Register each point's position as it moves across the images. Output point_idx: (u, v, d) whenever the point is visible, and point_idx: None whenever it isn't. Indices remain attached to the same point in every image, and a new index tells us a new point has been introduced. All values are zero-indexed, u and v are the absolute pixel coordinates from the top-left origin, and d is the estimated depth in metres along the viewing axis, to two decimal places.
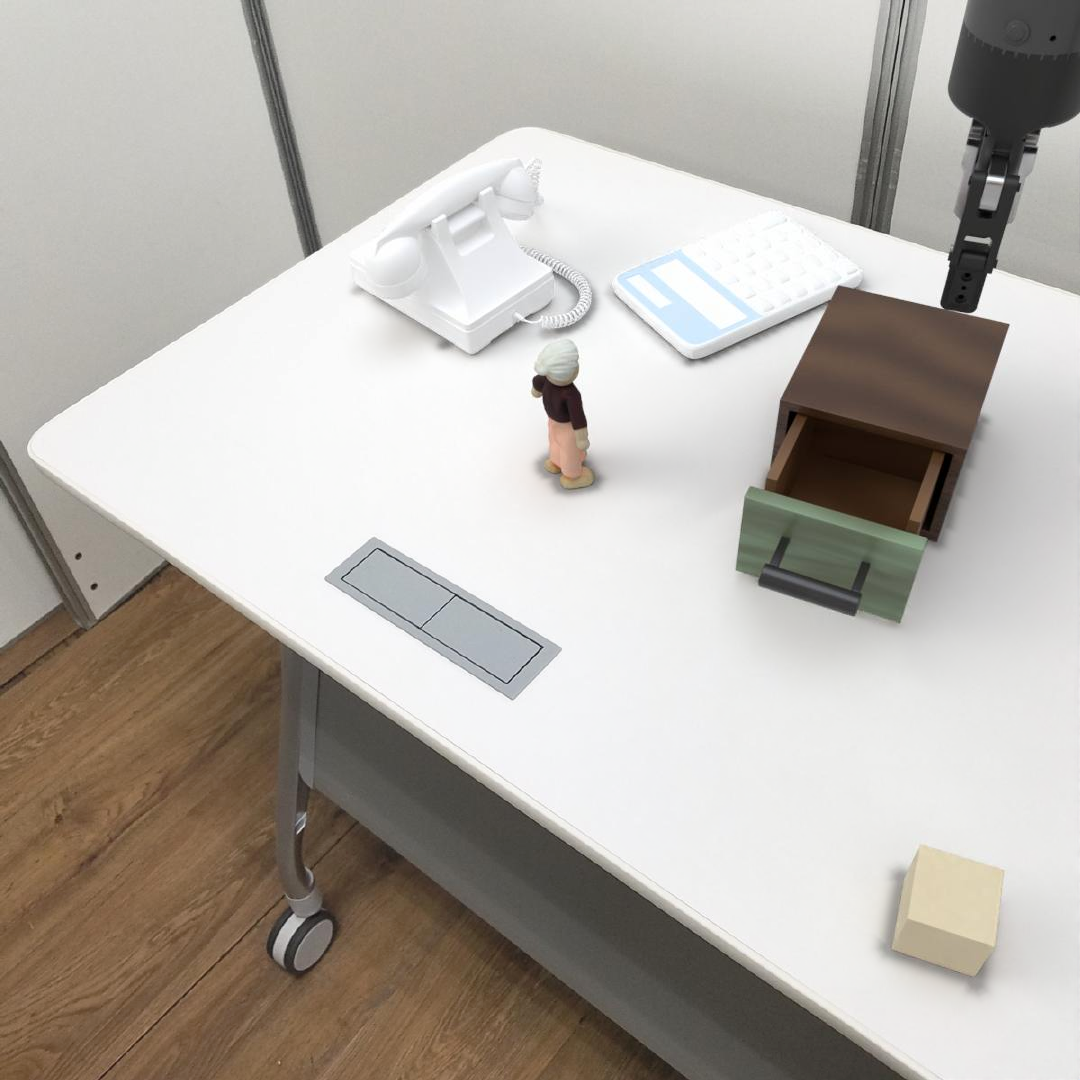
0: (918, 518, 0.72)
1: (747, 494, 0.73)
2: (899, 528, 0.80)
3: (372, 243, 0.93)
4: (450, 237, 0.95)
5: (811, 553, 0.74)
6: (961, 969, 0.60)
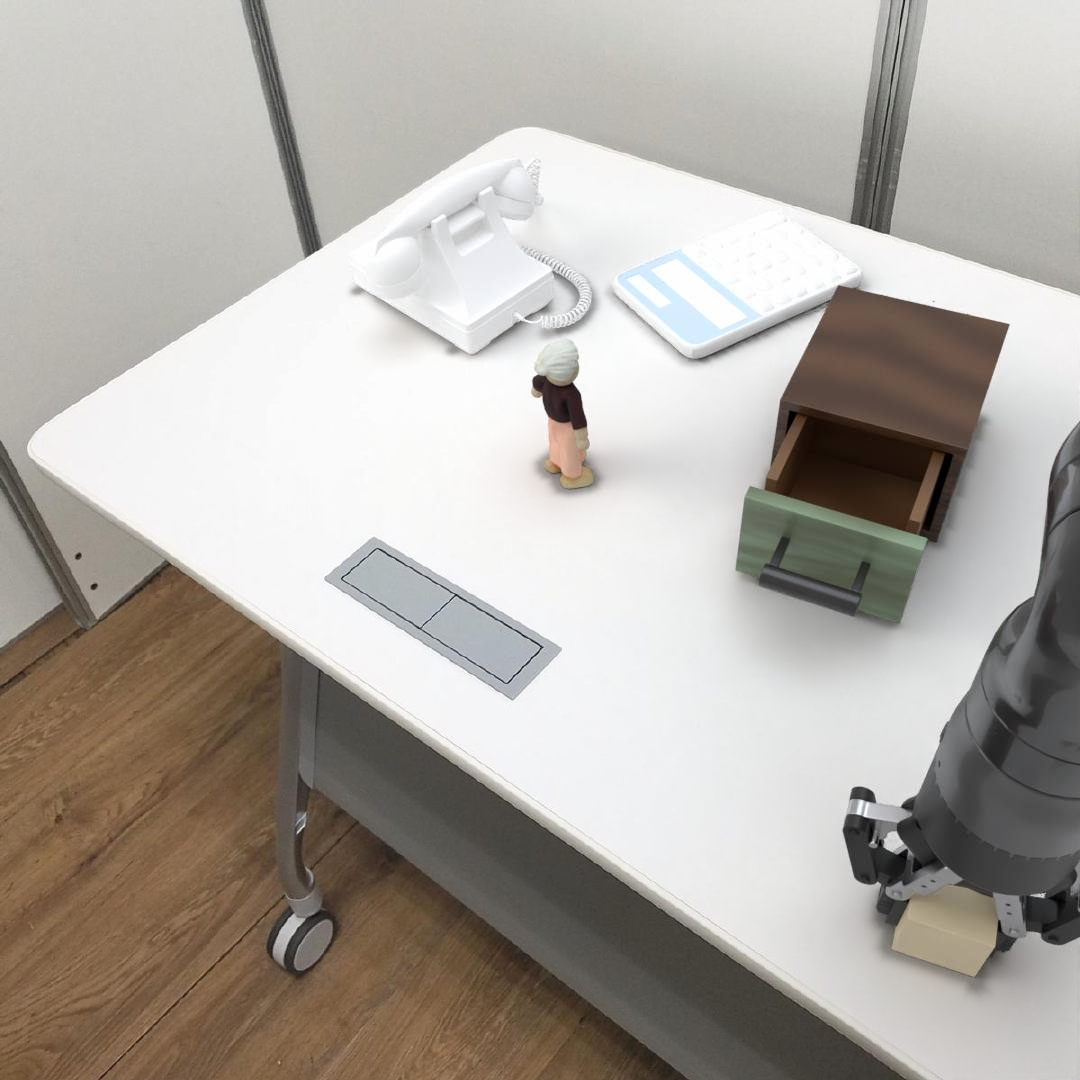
0: (918, 518, 0.72)
1: (747, 494, 0.73)
2: (899, 528, 0.80)
3: (372, 243, 0.93)
4: (450, 237, 0.95)
5: (811, 553, 0.74)
6: (961, 969, 0.60)
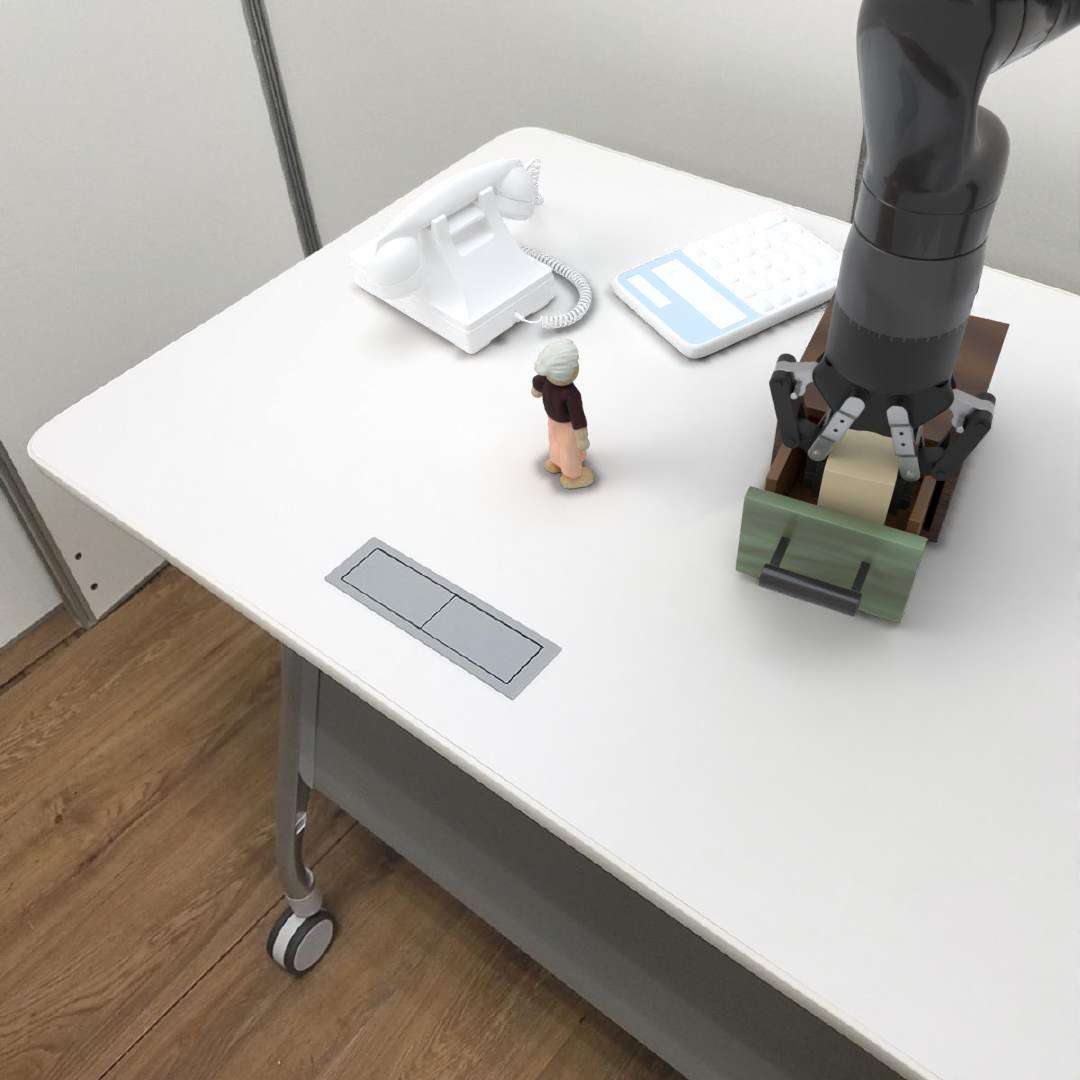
0: (918, 518, 0.72)
1: (747, 494, 0.73)
2: (899, 528, 0.80)
3: (372, 243, 0.93)
4: (450, 237, 0.95)
5: (811, 553, 0.74)
6: None
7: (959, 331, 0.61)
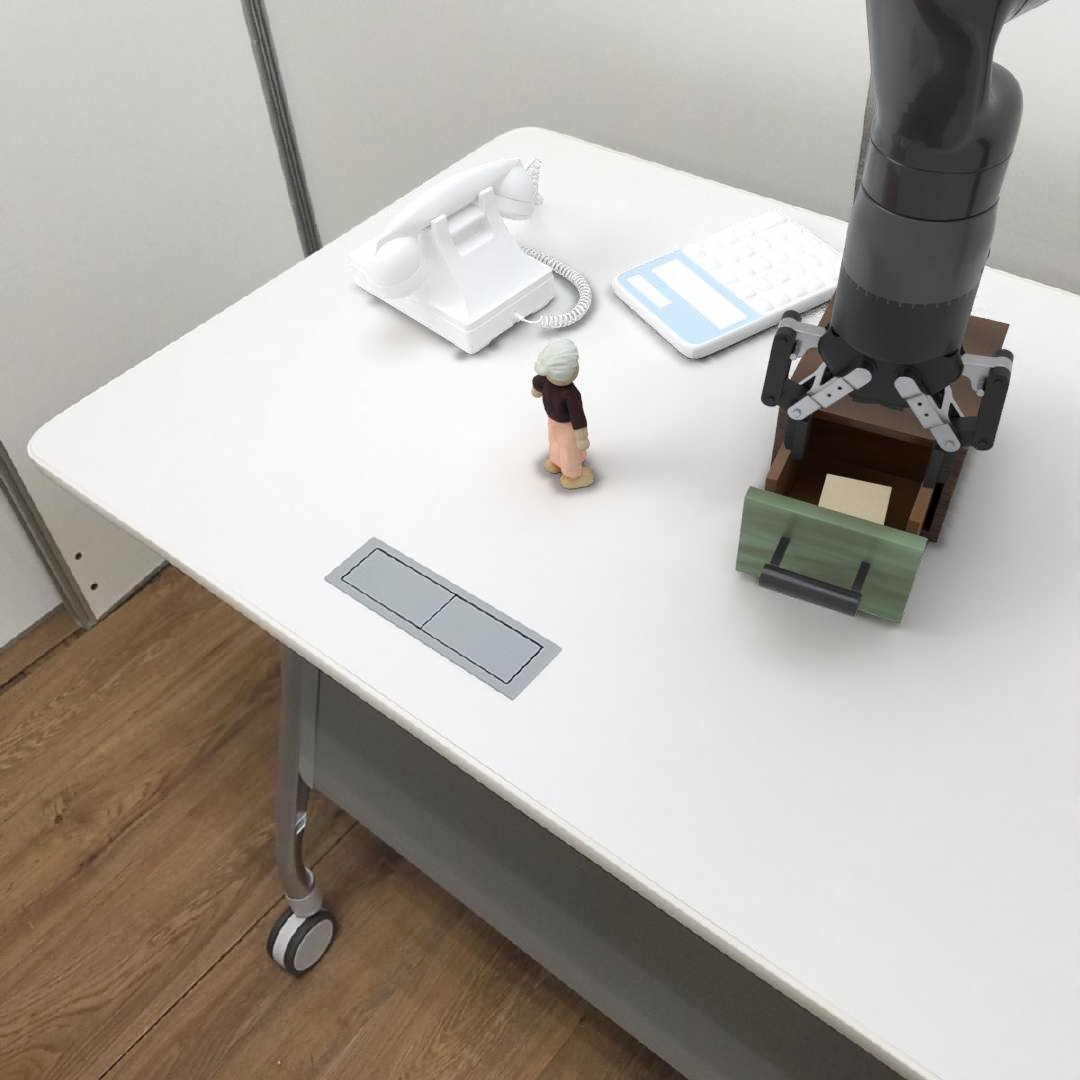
0: (918, 518, 0.72)
1: (747, 494, 0.73)
2: (899, 528, 0.80)
3: (372, 243, 0.93)
4: (450, 237, 0.95)
5: (811, 553, 0.74)
6: None
7: (969, 297, 0.59)
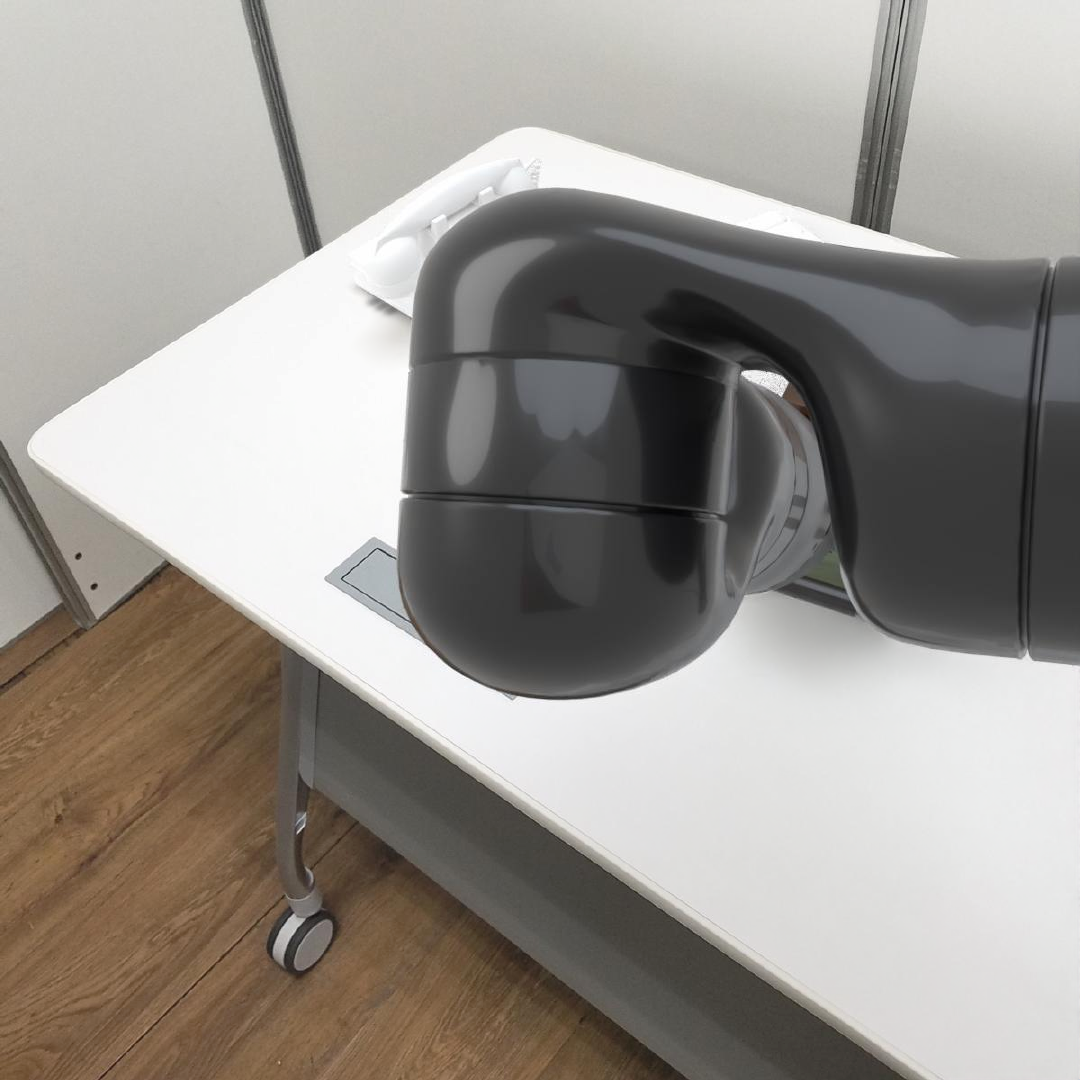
0: None
1: None
2: None
3: (372, 243, 0.93)
4: None
5: None
6: None
7: (806, 563, 0.39)
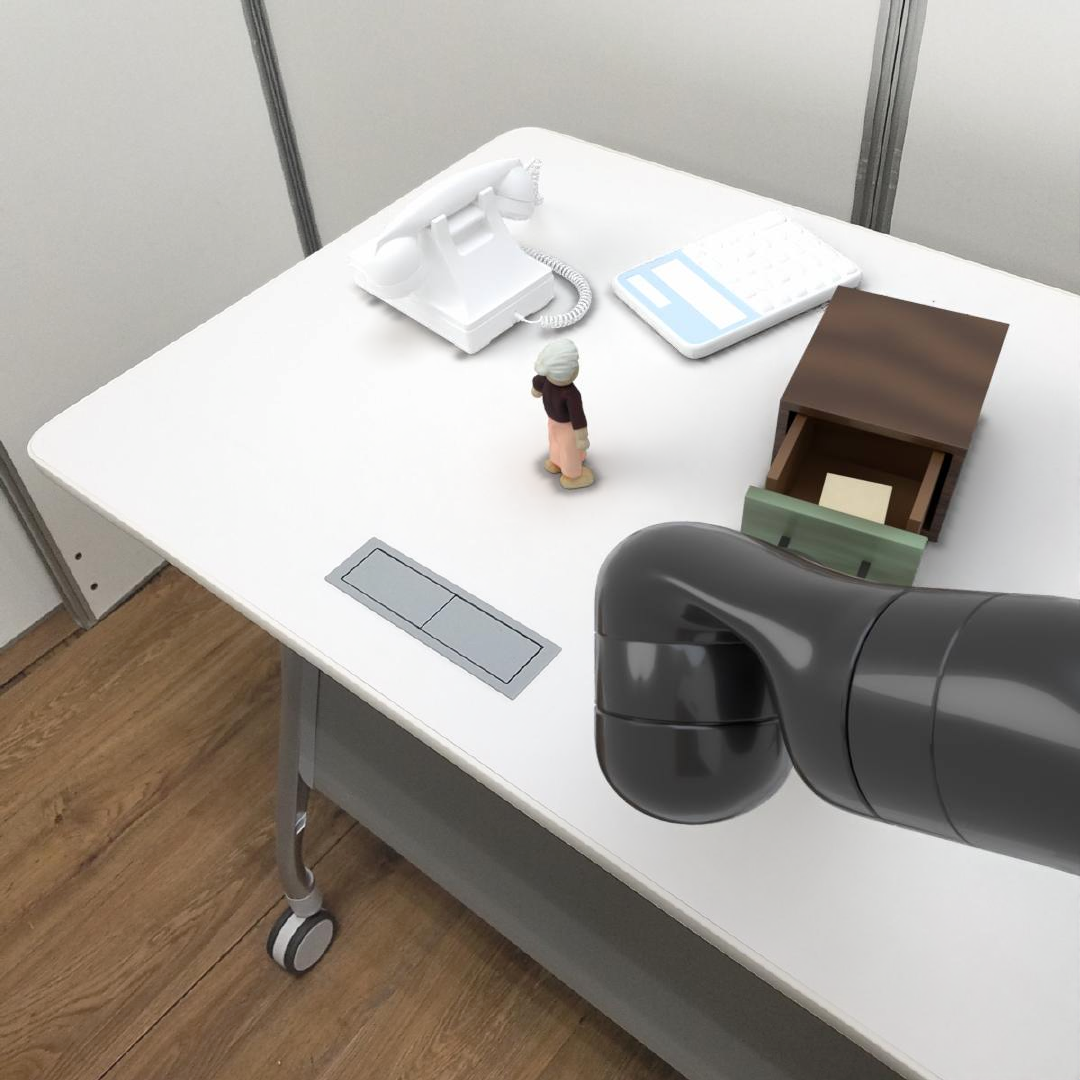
0: (918, 517, 0.72)
1: (747, 493, 0.74)
2: (899, 527, 0.80)
3: (372, 243, 0.93)
4: (450, 237, 0.95)
5: (811, 552, 0.74)
6: None
7: None
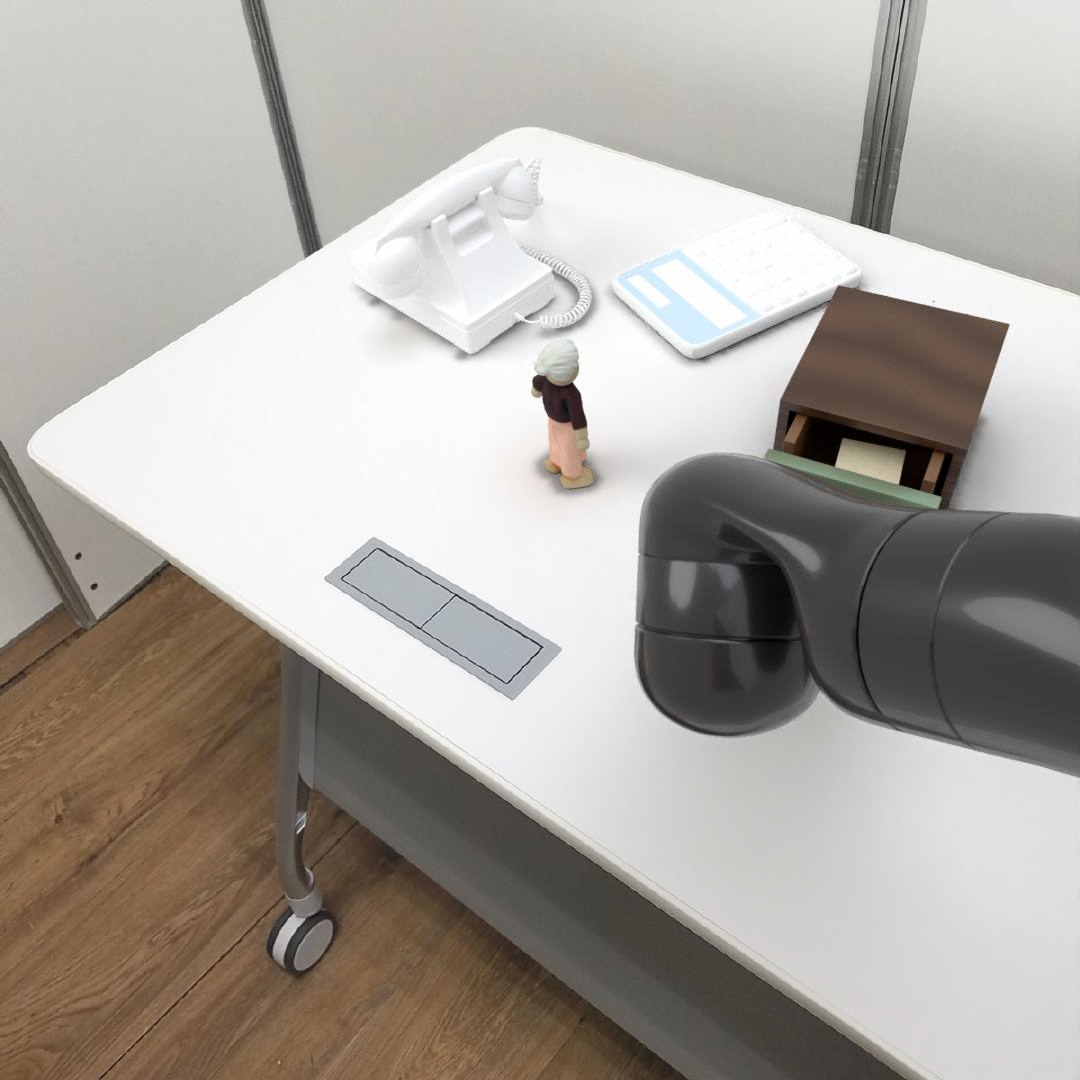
0: (932, 478, 0.74)
1: (766, 456, 0.76)
2: None
3: (372, 243, 0.93)
4: (450, 237, 0.95)
5: None
6: None
7: None
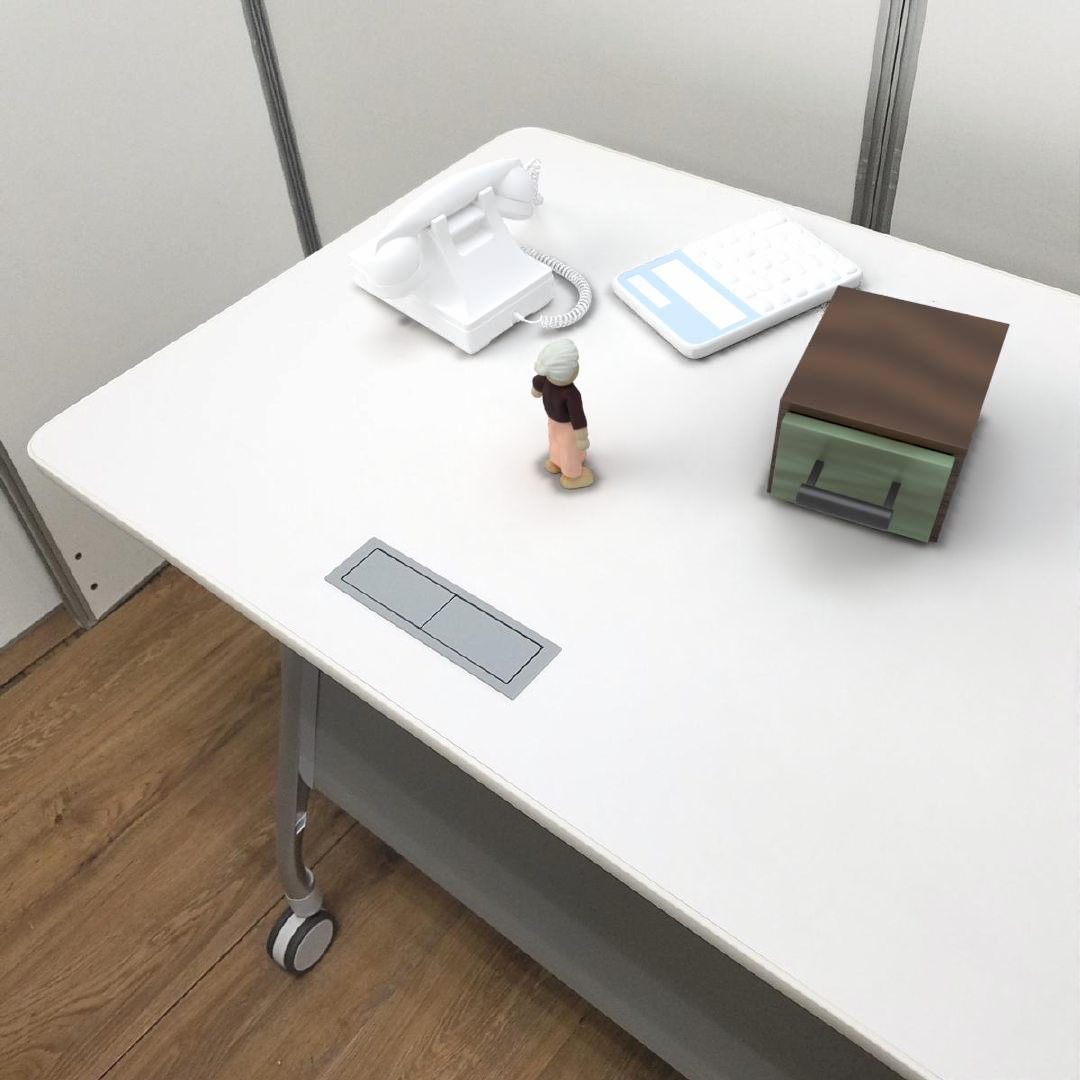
0: None
1: (784, 419, 0.78)
2: None
3: (372, 243, 0.93)
4: (450, 237, 0.95)
5: (844, 475, 0.79)
6: None
7: None
